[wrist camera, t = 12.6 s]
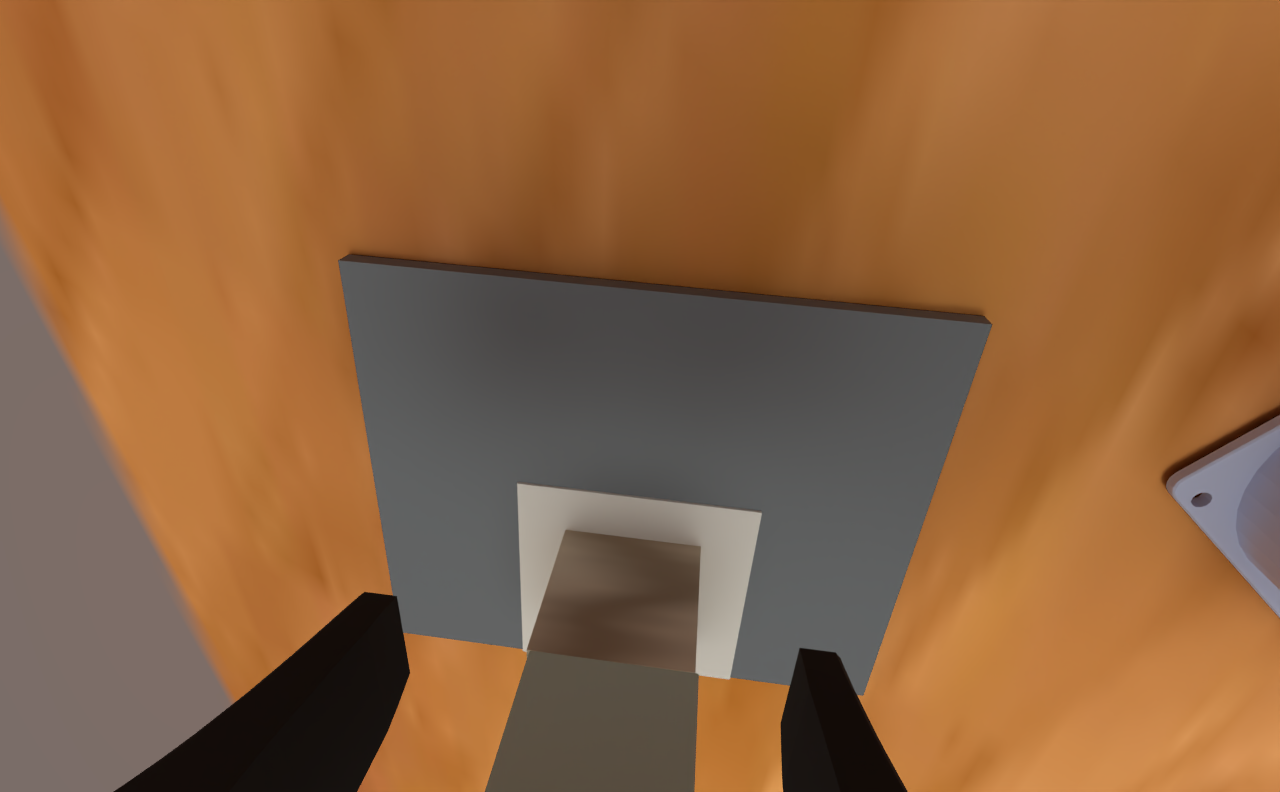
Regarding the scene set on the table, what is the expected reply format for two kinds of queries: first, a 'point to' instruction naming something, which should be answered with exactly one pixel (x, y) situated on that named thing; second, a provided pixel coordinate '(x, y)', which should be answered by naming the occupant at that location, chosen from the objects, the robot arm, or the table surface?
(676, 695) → the sage block
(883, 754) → the robot arm
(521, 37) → the table surface
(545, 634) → the walnut block
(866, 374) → the board
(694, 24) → the table surface
